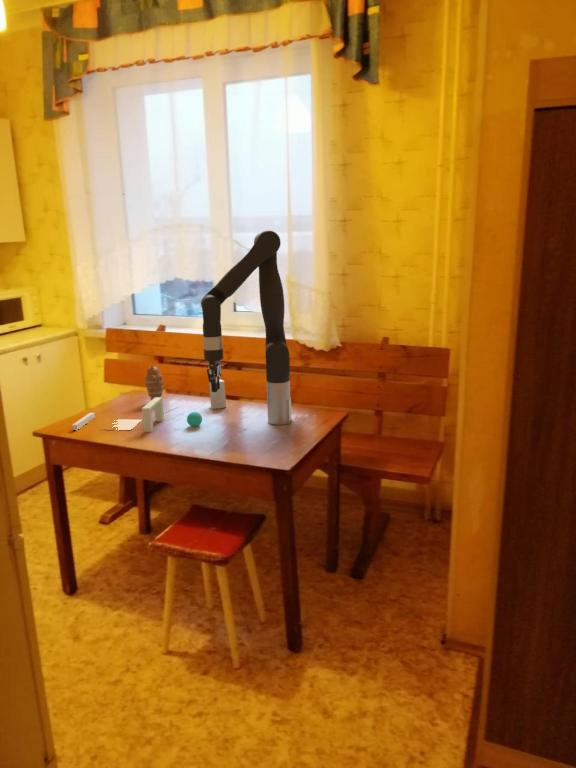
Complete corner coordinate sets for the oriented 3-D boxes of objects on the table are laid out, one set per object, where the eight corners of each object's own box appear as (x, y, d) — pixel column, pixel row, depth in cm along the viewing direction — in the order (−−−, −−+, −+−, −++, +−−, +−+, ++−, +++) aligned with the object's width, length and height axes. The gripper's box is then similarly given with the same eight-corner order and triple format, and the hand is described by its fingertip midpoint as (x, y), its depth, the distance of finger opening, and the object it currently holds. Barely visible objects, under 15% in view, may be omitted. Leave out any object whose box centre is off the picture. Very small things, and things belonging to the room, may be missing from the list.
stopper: (95, 418, 253) (94, 412, 253) (77, 430, 238) (76, 425, 237) (90, 418, 254) (90, 412, 253) (72, 430, 238) (72, 424, 238)
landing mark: (142, 420, 249) (142, 419, 249) (130, 430, 237) (130, 430, 236) (112, 419, 251) (112, 419, 251) (99, 430, 238) (99, 429, 238)
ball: (204, 424, 242) (203, 410, 240) (200, 429, 236) (199, 414, 234) (190, 423, 243) (188, 409, 241) (185, 428, 237) (184, 414, 235)
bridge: (164, 419, 249) (162, 397, 246) (151, 432, 234) (149, 408, 232) (157, 419, 249) (155, 397, 247) (144, 431, 235) (141, 408, 232)
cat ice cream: (161, 406, 267) (158, 367, 262) (144, 406, 268) (140, 367, 263) (167, 400, 276) (164, 362, 271) (151, 400, 276) (147, 362, 272)
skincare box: (223, 404, 267) (222, 379, 264) (226, 407, 263) (224, 381, 260) (210, 406, 265) (208, 380, 261) (213, 409, 261) (211, 382, 258)
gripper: (218, 351, 222) (220, 395, 227) (227, 343, 236) (229, 385, 240) (198, 351, 223) (201, 395, 228) (208, 343, 237) (211, 385, 241)
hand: (215, 390), depth 234 cm, fingers open, 3 cm apart
